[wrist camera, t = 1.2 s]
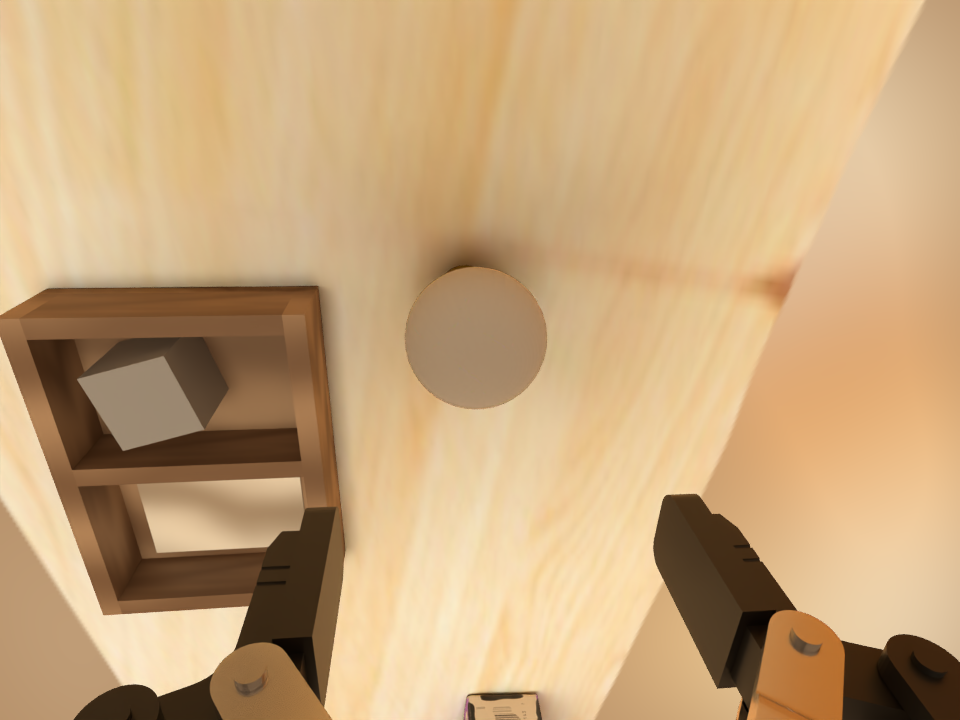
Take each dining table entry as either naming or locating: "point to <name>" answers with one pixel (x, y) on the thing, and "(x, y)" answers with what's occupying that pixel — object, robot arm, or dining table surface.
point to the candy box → (502, 707)
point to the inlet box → (181, 438)
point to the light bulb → (475, 337)
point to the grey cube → (155, 389)
